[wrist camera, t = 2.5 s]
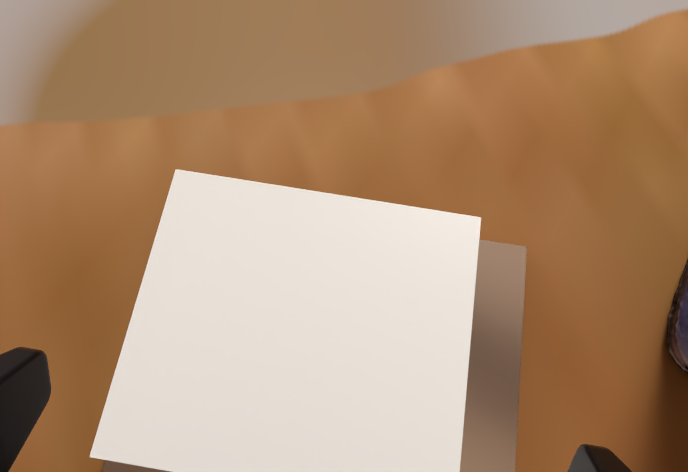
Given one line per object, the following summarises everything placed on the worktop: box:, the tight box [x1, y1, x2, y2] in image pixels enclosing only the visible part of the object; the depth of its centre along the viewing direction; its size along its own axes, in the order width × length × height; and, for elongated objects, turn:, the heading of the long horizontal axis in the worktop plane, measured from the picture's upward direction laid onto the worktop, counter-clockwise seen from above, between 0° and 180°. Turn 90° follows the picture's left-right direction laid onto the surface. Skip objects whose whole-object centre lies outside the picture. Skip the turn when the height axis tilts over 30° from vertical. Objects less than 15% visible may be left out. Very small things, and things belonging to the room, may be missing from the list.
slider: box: [90, 169, 481, 472], centre depth 11 cm, size 6×6×11 cm
